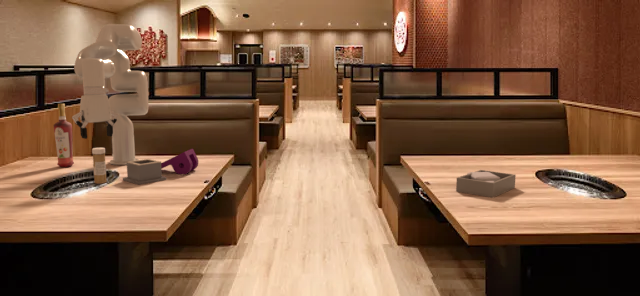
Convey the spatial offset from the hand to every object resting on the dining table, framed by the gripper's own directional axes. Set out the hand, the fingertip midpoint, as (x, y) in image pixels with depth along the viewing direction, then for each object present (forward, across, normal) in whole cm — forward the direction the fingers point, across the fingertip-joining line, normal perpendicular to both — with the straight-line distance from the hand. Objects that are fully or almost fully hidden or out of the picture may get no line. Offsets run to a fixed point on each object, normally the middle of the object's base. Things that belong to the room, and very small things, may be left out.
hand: (97, 137), depth 195 cm
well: (+18, -14, +7) cm, 24 cm away
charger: (+18, -90, +114) cm, 146 cm away
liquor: (+17, -6, -45) cm, 48 cm away
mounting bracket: (+18, -32, +1) cm, 36 cm away
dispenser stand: (+18, -90, +114) cm, 146 cm away
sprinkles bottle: (+18, 0, -1) cm, 18 cm away
